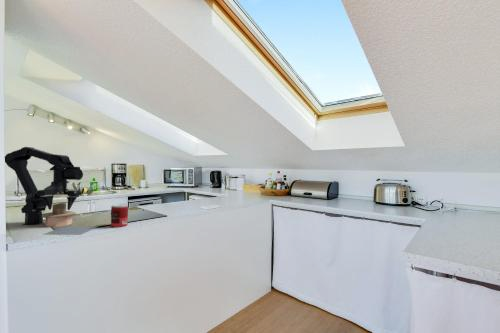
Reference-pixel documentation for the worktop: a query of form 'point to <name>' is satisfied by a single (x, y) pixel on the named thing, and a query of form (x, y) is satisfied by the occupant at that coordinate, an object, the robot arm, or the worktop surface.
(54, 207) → the lid
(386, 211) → the worktop surface
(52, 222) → the bowl
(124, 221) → the canned food
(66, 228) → the mat
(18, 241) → the worktop surface
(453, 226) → the worktop surface
